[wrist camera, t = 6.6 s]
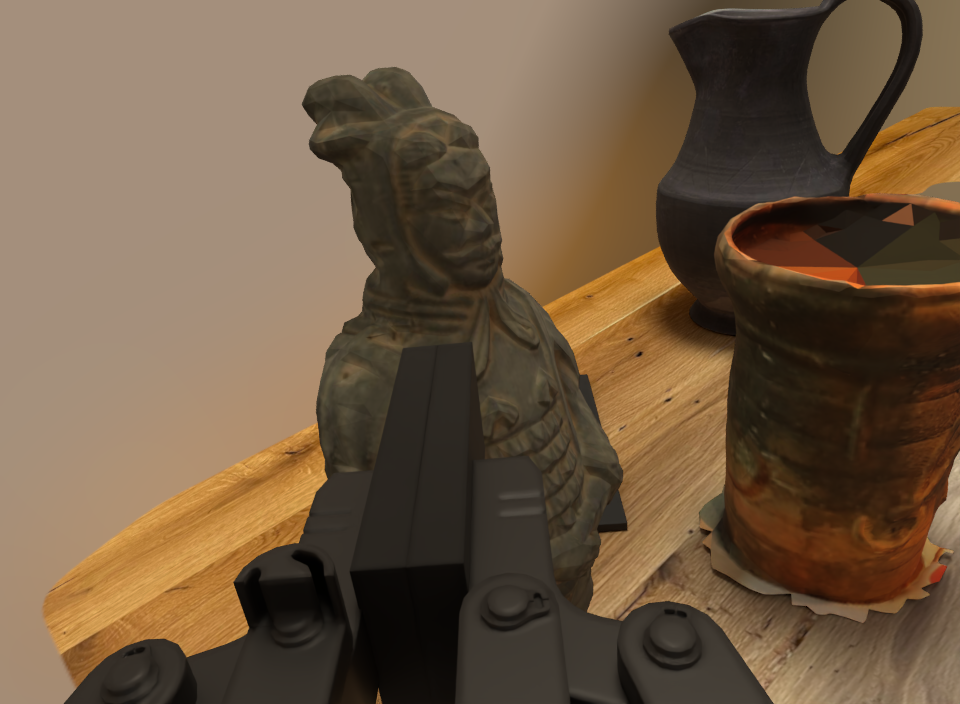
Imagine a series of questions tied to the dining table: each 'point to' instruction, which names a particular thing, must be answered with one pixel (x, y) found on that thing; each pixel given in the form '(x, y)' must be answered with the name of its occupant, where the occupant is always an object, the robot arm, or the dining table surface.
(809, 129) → the pitcher
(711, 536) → the vessel
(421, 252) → the statue
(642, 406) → the dining table surface
